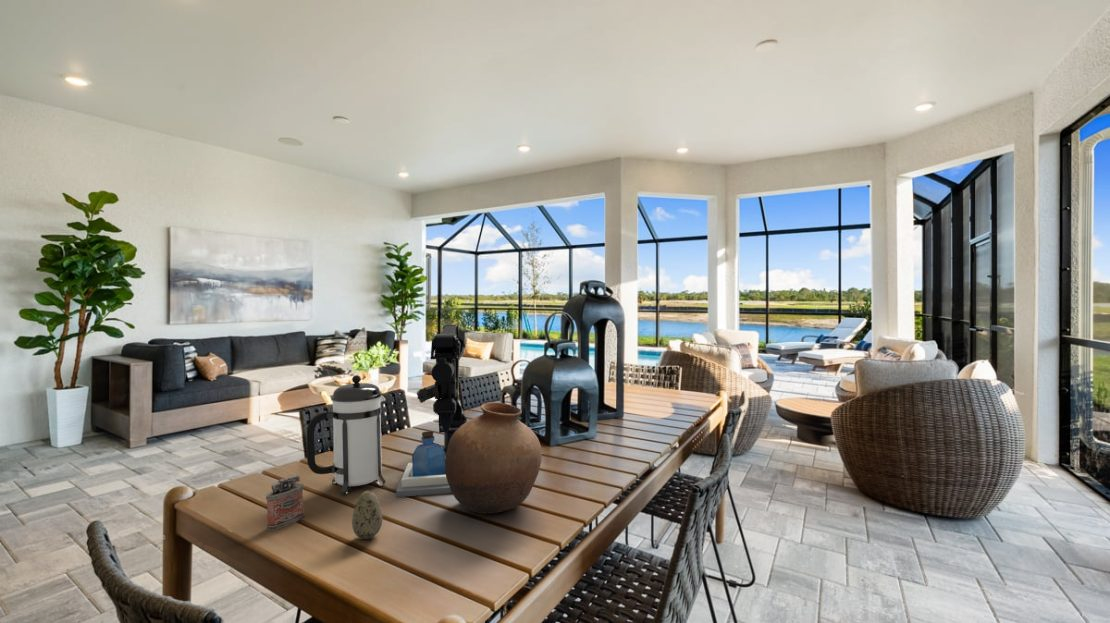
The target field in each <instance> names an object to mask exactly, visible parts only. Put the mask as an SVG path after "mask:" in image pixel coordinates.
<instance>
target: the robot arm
mask: <svg viewBox="0 0 1110 623" xmlns="http://www.w3.org/2000/svg"><path fill="white" fill-rule="evenodd" d="M442 327H443V328H442V331H441V332H440V333H438V334H435V335H434V337H433V338H432V339H431V347H430V350H431V351H430V360H435V365H433V367H432V369H431V377H432V379H433V381H435V382H434V384H431V385H428V386H424V387H423V388H420V389H419V390H417V391H416V395H417V399H418V400H419V403H420V404H423V403H425V402H426V401H428V400H430V399H433V398H434V400H435V401H434V402H433V405H432V411H433V413H434V414H436V415H437V416H438V431H439V434H441V433H443V446H442V449H443V450H444V452H445V453H446V452H447V447H448V444H449V441H450V439H451V437H452V435H453V434H454V433H455V431H456V430H457V429H458V428H459V427H461V426H462V425H463V424H464V423H466V422H467V421H468V420H467V419H468V418H467V417H466V415H465V413H464V409H463V407H462V405H461V404H460V402H459V397H460V396H459V392H460V390H459V389H460V388H459V384H460V383H459V382H460V379H459V378H460V360H461V359H462V357H463V355H464V353H465V352H464V350H465V348H466V345H467V344H466V342H467V340H466V333H465V332H464V331H463V330H462V329H461V328H460V325H459V324H457V323H455V324H453V323H452V324H449V323H448V324H443V326H442Z"/></svg>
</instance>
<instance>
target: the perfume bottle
mask: <svg viewBox="0 0 1110 623" xmlns="http://www.w3.org/2000/svg"><path fill="white" fill-rule="evenodd" d="M421 436H422V437H421V442H422V444H418V445H417V446H416V448H415V450H414V451H413V453H412V454H411V459H412V462H411V463H412V467H413V477H418V476H433V475H445V474H446V473H445V457H446V452H444V450H443V447H442V446H441V445H440V444H439V443H436V442H434V441H435V435H434V431H432V430H431V431H430V430H429V431H428V430H427V431H423V432H421Z"/></svg>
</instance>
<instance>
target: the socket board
mask: <svg viewBox="0 0 1110 623" xmlns="http://www.w3.org/2000/svg"><path fill="white" fill-rule="evenodd" d="M442 494H452V492H451V489H450V487H449V484H448V481H447V478H446V474H445V475H433V476H418V477H413V467H412V462H408V463H407V465H406V467H405V470H404V472H403V474H402V476H401V479H400V481H399V483H398V485H397V488H396V490H395V497H396V498H403V497H415V496H416V495H418V496H429V495H442Z"/></svg>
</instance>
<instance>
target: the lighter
mask: <svg viewBox="0 0 1110 623" xmlns="http://www.w3.org/2000/svg"><path fill="white" fill-rule="evenodd" d="M298 482H301V478H300V475H298V474H297V475H293V476H290V477H288V478H280V479H279V480H278V481H277V482H274V483H271V489H272V490H271V492H269V493H267V494H266V495H265V498H266V505H267V506H266V510H267V513H266V514H267V524H266V530H268V531H275V530H279V529H281V528H284V527H287V526H290V525H293V524H294V523H297V522H299V521H300V519H301V520H303V519H304V518H305V512H304V492H303V490H304V484H302V483H298ZM295 483H297V484H295ZM303 517H304V518H303ZM302 518H303V519H302ZM298 520H299V521H298ZM289 524H290V525H289Z"/></svg>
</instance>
